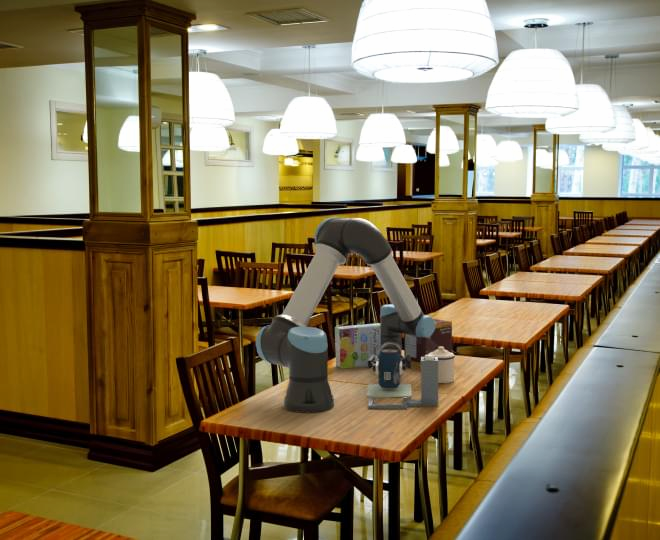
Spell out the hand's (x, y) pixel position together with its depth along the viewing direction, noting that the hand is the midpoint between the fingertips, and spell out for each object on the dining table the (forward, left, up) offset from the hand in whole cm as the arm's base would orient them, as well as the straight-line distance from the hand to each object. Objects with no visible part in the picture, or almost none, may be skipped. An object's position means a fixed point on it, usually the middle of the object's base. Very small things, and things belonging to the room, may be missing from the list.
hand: (388, 370), depth 239 cm
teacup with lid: (+26, 0, -8) cm, 27 cm away
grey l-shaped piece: (-5, -10, -8) cm, 14 cm away
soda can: (+4, +3, -7) cm, 9 cm away
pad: (+4, +3, -8) cm, 10 cm away
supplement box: (+46, +18, -8) cm, 50 cm away
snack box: (+28, +34, -9) cm, 44 cm away
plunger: (0, -15, +1) cm, 15 cm away
